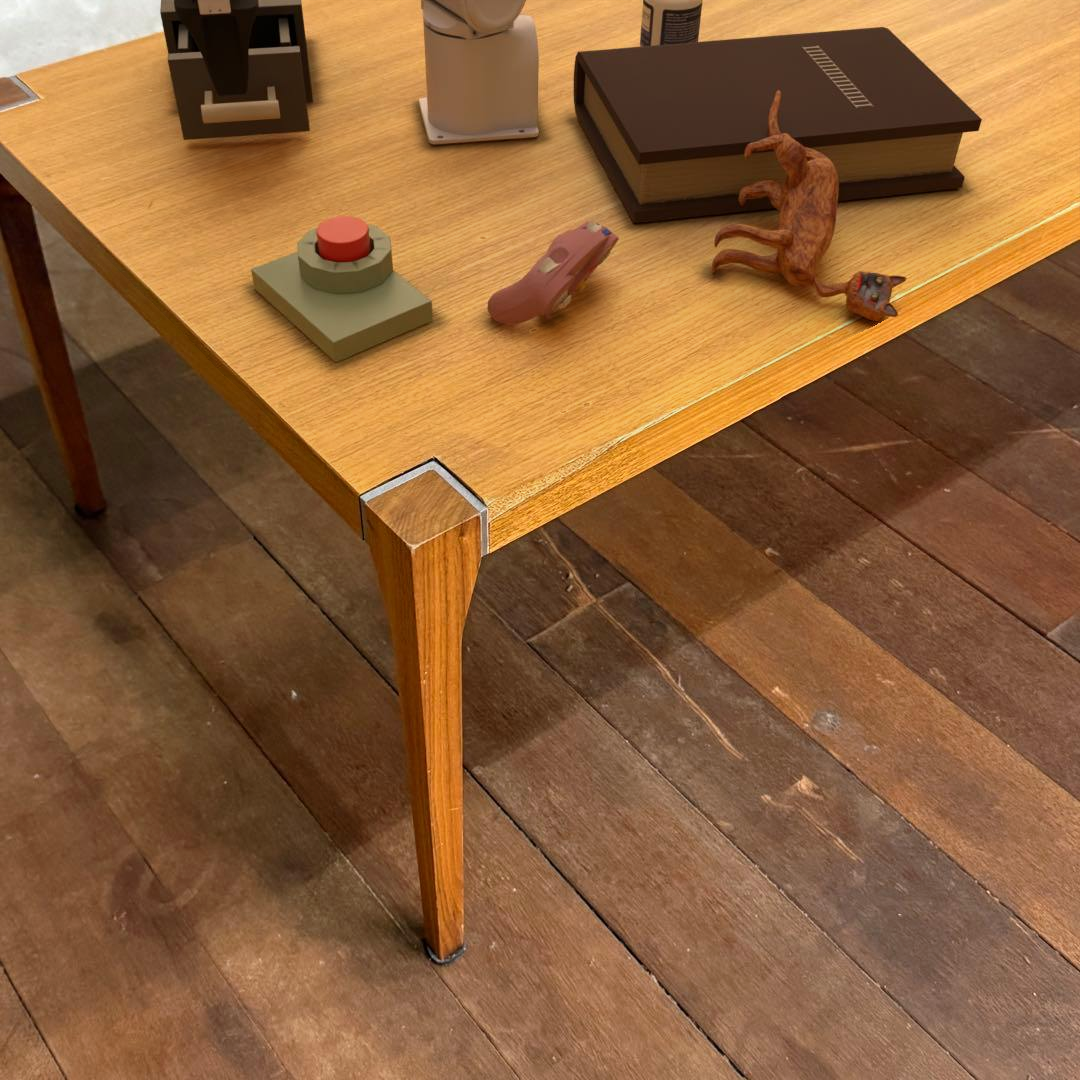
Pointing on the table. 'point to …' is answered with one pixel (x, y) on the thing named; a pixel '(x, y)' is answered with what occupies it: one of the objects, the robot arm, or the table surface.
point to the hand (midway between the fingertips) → (231, 73)
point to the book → (766, 118)
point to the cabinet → (270, 3)
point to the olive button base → (343, 296)
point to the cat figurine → (803, 225)
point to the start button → (343, 239)
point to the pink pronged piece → (554, 275)
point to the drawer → (269, 94)
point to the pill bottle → (670, 22)
